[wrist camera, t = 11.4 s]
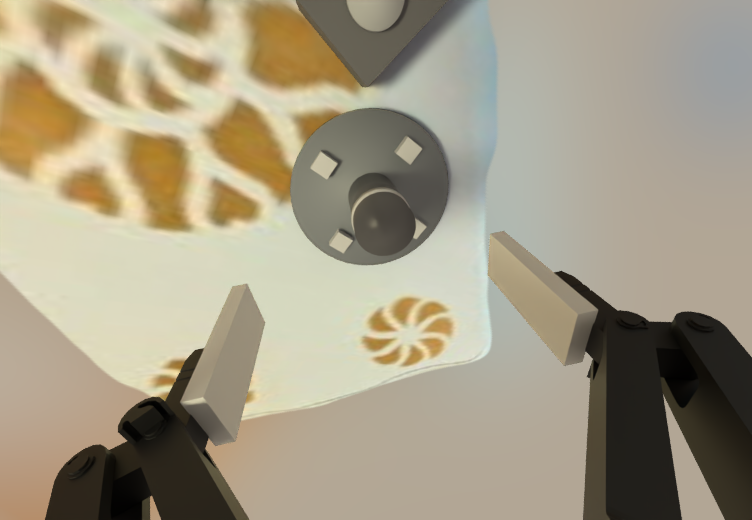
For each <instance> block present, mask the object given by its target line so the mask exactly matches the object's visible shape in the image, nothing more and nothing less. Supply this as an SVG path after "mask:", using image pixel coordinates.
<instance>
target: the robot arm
mask: <svg viewBox="0 0 752 520" xmlns="http://www.w3.org/2000/svg"><path fill="white" fill-rule="evenodd" d="M489 246H490V247H489V263H488V276H489V277H490V279H491V280H492V281H493V282H494V283H495V284H496V286H497V287H498V288H499V289H500V290H501V292H502V293H503V294H504V295H505V296H506V298H507V299H508V300H509V301H510V302H511V303H512V305H513V306H514V307H515V308H516V309H517V311H518V312H519V313H520V314H521V315H522V316H523V318H524V319H525V320H526V321H527V322H528V324H529V325H530V326H531V327H532V328H533V330H534V331H535V332H536V333H537V334H538V336H540V338H541V339H542V340H543V341H544V343H545V344H546V345H547V346H548V347H549V348H550V349H551V351H552V352H553V353H554V354H555V356H556V357H557V358H558V359H559V360H560V362H561V363H562V364H563V365H564V366H566V365H571V364H575V363H579V362H582V361H583V358H584V355H585V352H587V353H588V354H589V355H590V356H591V357H592V358H593V360H592V364H591V366H590V370H589V372H588V375H587V377H588V378H590V395H589V416H588V434H587V454H586V474H585V492H584V493H585V494H584V513H583V520H682V517H681V511H680V504H679V497H678V491H677V485H676V478H675V471H674V464H673V458H672V451H671V444H670V438H669V432H668V425H667V418H666V412H665V405H664V398H663V395H664V397H665V399H666V401H667V403H668V405H669V407H670V408H671V411H672V413H673V415H674V417H675V419H676V421H677V423H678V425H679V427H680V429H681V431H682V433H683V435H684V437H685V439H686V441H687V443H688V445H689V448H690V449H691V452H692V454H693V456H694V458H695V460H696V462H697V464H698V466H699V468H700V470H701V472H702V474H703V476H704V478H705V480H706V482H707V484H708V486H709V488H710V490H711V492H712V494H713V496H714V498H715V500H716V502H717V504H718V506H719V508H720V510H721V512H722V514H723V516H724V519H725V520H752V357H751V356H750V355H749V354H748V352H747V351H746V350H745V349H744V348H743V346H742V345H741V344H740V343H739V342H738V341H737V339H736V338H735V337H734V336H733V335H732V334H731V332H730V331H729V330H728V329H727V327H726V326H725V325H723V324H722V323H721V322H720V321H718V320H716V319H714V318H712V317H710V316H707V315H704V314H701V313H696V312H681V313H678V314H676V316H675V318H674V320H673V322H649V321H648V320H646V319H645V318H644V317H642V316H640V315H638V314H635V313H632V312H629V311H621V310H620V311H617V310H616V309H615V308H613V307H612V306H611V305H610V304H608V303H607V302H606V301H604V300H603V299H602V298H601V297H599V296H598V295H597V294H596V293H594V292H593V291H590V289H589V288H588V287H587V286H585V285H583V284H582V283H581V282H580V281H579V280H578V279H576V278H575V277H574V276H572V275H569V274H567V273H565V272H562V271H559V272H555V273H554V272H552V271H551V270H550V269H549V268H548V267H546V266H545V265H544V264H543V263H542V262H540V261H539V260H538V259H537V258H536V257H534V256H533V255H532V254H531V253H530V252H528V251H527V250H526V249H525V248H524V247H522V246H521V245H520V244H519V243H518V242H516V241H515V240H514V239H513V238H512V237H510V236H509V235H508V234H507V233H506V232H504V231H502V232H496V233H491V234H490V245H489ZM264 325H265V321H264V319H263V317H262V315H261V313H260V311H259V308H258V306H257V304H256V302H255V300H254V298H253V295H252V293H251V291H250V289H249V287H248V285H247V284H243V285H238V286H233V287H232V289H231V291H230V293H229V295H228V297H227V300H226V302H225V304H224V306H223V308H222V311H221V313H220V315H219V317H218V319H217V322H216V324H215V326H214V328H213V331H212V333H211V335H210V337H209V339H208V342H207V344H206V346H205V348H203V349H198V350H195V351H194V352H193V353H192V354H191V355H190V356H189V357H188V358H187V359H186V361H185V363H184V365H183V367H182V369H181V371H180V372H181V373H179V375H178V377H177V379H176V382H175V383H174V385H173V387H172V389H171V391H170V393H169V395H168V397H167V399H166V401H164V400H163V399H161V398H160V397H151V398H148V399H145V400H143V401H141V402H140V403H138V404H136V405H135V406H134V407H132V408H131V409H130V410H129V411H128V412H127V413H126V414H125V415H124V417H123V418H122V419H121V421H120V423H119V425H118V432H119V433H120V434H121V435H122V436H123V437H124V438H125V439H126V440H127V442H125V443H123V444H121V445H119V446H117V447H115V448H113V449H111V450H108V449H107V448H106V447H104V446H102V445H92V446H90V447H88V448H85V449H83V450H82V451H80V452H79V453H77V454H76V455H75V456H73V457H72V458H71V459H70V460H69V461H68V462H67V463H66V464H65V465H64V466H63V468H62V469H61V470H60V471H59V473H58V475H57V477H56V479H55V481H54V485H53V489H52V493H51V498H50V502H49V506H48V509H47V514H46V518H45V520H150V496H153V499H154V502H155V504H156V507H157V510H158V512H159V515H160V517H161V520H249V518H248V516H247V515H246V513H245V512H244V510H243V508H242V507H241V505H240V503H239V502H238V500H237V499H236V497H235V495H234V494H233V492H232V490H231V489H230V487H229V486H228V484H227V482H226V481H225V479H224V477H223V476H222V474H221V473H220V471H219V469H218V468H217V466H216V464H215V463H214V461H213V460H212V458H211V456H210V455H209V453H208V452H207V451H206V449H205V447H206V444H207V441H208V438H209V439H210V440H211V441H212V443H213V444H214V445H215V446H218V445H222V444H226V443H230V442H235V441H236V438H237V434H238V430H239V425H240V422H241V417H242V413H243V409H244V405H245V401H246V397H247V393H248V389H249V385H250V381H251V377H252V373H253V369H254V365H255V361H256V357H257V353H258V349H259V345H260V341H261V337H262V333H263V329H264Z"/></svg>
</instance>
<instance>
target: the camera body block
mask: <svg viewBox="0 0 752 520" xmlns="http://www.w3.org/2000/svg"><path fill="white" fill-rule="evenodd" d="M447 1H448V0H296V2H297V5H298V8H299V10H300V11H301V13H302V14H303V15H304V16H305V18H306V19H307V20H308V21H309V22H310V24H311V25H312V26H313V27H314V29H315V30H316V31H317V32H318V33H319V35H320V36H321V37H322V38H323V40H324V41H325V42H326V43H327V45H328V46H329V47H330V48H331V49H332V51H333V52H334V53H335V54H336V56H337V57H338V58H339V59H340V60H341V62H342V63H343V64H344V65H345V67H346V68H347V69H348V70H349V71H350V73H351V74H352V75H353V76H354V78H355V79H356V80H357V81H358V83H359V84H360V85H361V86H362V87H368V86H369V85H370V84H371V83H372V82H373V81H374V80H375V79H376V78H377V77H378V75H379V74H380V73H381V72H382V71H383V70H384V69H385V68H386V67H387V66H388V65H389V64H390V63H391V61H392V60H393V59H394V58H395V57H396V56H397V55H398V54H399V53H400V52H401V51H402V50H403V48H404V47H405V46H406V45H407V44H408V43H409V42H410V41H411V40H412V39H413V38H414V37H415V35H416V34H417V33H418V32H419V31H420V30H421V29H422V28H423V27H424V26H425V25H426V24H427V22H428V21H429V20H430V19H431V18H432V17H433V16H434V15H435V14H436V13H437V12H438V11H439V10H440V8H441V7H442V6H443V5H444V4H445V3H446V2H447Z"/></svg>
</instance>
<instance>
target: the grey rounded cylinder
mask: <svg viewBox="0 0 752 520" xmlns="http://www.w3.org/2000/svg"><path fill="white" fill-rule="evenodd" d="M348 200H349V206H350V211H351V222H352V227H353V230H354V232H355V236H356V239H357V242H358V243H359V245H360V246H361V247H362V248H363V249H364V250H365V251H367V252H369V253H371V254H373V255H377V256H389V255H393V254H396V253H398V252H400V251H401V250H403V249H404V248H405V247H406V246H407V245H408V244H409V243H410V242H411V240H412V238H413V236H414V234H415V230H416V221H415V217H414V214H413V212H412V211H411V209H410V207H409V205H408V203H407V201H406V200H405V199H404V197H403V196H402V195H401V194H400V193H399V192H398V190H397V189H396V187H395V186H394V185H393V183H392V182H391V180H390V179H389V178H387V177H386V176H384V175H382V174H379V173H367V174H364V175H362V176H360V177H359V178H357V179H356V180H355V181H354V182H353V184H352V185H351V187H350V190H349V194H348Z"/></svg>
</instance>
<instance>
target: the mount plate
mask: <svg viewBox="0 0 752 520" xmlns="http://www.w3.org/2000/svg"><path fill="white" fill-rule="evenodd" d="M367 173H379V174H382V175H384V176H386V177H387V178H389V179H390V180H391V182H392V183H393V185H394V186H395V187H396V189H397V190H398V192H399V193H400V194H401V195H402V196H403V197H404V199H405V200H406V201H407V203H408V205H409V207H410V209H411V211H412V212H413V214H414V217H415V221H416V230H415V234H414V236H413V238H412V240H411V242H410V243H409V244H408V245H407V246H406V247H405V248H404V249H403V250H401V251H400V252H398V253H396V254H393V255H389V256H377V255H373V254H371V253H369V252H367V251H365V250H364V249H363V248H362V247H361V246H360V245H359V243H358V242H357V239H356V236H355V232H354V230H353V227H352V222H351V211H350V206H349V200H348V194H349V190H350V187H351V185H352V184H353V182H354V181H355V180H356V179H357V178H359V177H360V176H362V175H364V174H367ZM290 193H291V203H292V207H293V212H294V214H295V217H296V220H297V222H298V224H299V226H300V228H301V229H302V231H303V232H304V234H305V235H306V236H307V238H308V239H309V240H310V241H311V242H312V243H313V244H314V245H315V246H316V247H317V248H319V249H320V250H321V251H323V252H324V253H326V254H327V255H329V256H331V257H333V258H335V259H337V260H340V261H343V262H346V263H351V264H357V265H376V264H383V263H387V262H391V261H393V260H396V259H399V258H401V257H403V256H405V255H407V254H409V253H410V252H412V251H413V250H415V249H416V248H417V247H418V246H420V245H421V244H422V243H423V242H424V241H425V240H426V239H427V238H428V237H429V236H430V234H431V233H432V232H433V230H434V229H435V227H436V226H437V224H438V222H439V221H440V218H441V216H442V214H443V211H444V208H445V205H446V201H447V195H448V173H447V169H446V164H445V161H444V158H443V156H442V153H441V151H440V149H439V147H438V146H437V144H436V143H435V141H434V140H433V138H432V137H431V136H430V135H429V134H428V133H427V132H426V131H425V130H424V129H423V128H422V127H421V126H420V125H418V124H417V123H416V122H414V121H413V120H411V119H409V118H407V117H405V116H403V115H400V114H398V113H395V112H392V111H388V110H383V109H372V108H368V109H357V110H353V111H349V112H346V113H343V114H341V115H338V116H336V117H334V118H332V119H331V120H329V121H327V122H326V123H324V124H323V125H322V126H321V127H319V128H318V129H317V130H316V131H315V132H314V133H313V134H312V135H311V136H310V137H309V139H308V140H307V141H306V143H305V144H304V146H303V147H302V149H301V151H300V153H299V155H298V157H297V159H296V162H295V165H294V168H293V172H292V177H291V188H290Z"/></svg>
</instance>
